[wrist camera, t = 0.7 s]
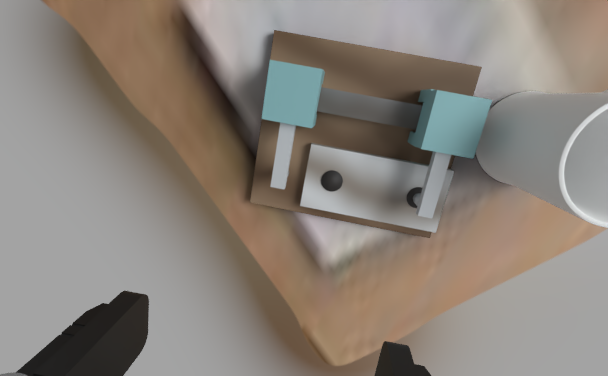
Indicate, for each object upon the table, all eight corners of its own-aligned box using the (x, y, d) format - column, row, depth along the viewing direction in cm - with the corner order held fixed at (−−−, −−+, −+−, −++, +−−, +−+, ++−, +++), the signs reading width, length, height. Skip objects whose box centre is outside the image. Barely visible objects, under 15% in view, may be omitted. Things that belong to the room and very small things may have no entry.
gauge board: (276, 32, 31) (270, 25, 27) (475, 68, 30) (492, 64, 27) (252, 198, 35) (244, 208, 32) (426, 233, 34) (435, 246, 31)
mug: (576, 43, 29) (738, 7, 17) (626, 122, 30) (810, 138, 18) (455, 132, 31) (525, 153, 20) (506, 201, 33) (600, 258, 21)
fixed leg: (420, 90, 29) (437, 88, 25) (466, 98, 29) (492, 98, 24) (392, 198, 32) (402, 215, 27) (434, 206, 32) (452, 225, 27)
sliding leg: (280, 64, 30) (269, 58, 25) (324, 72, 30) (322, 67, 25) (264, 172, 33) (252, 185, 28) (304, 180, 32) (299, 195, 28)
